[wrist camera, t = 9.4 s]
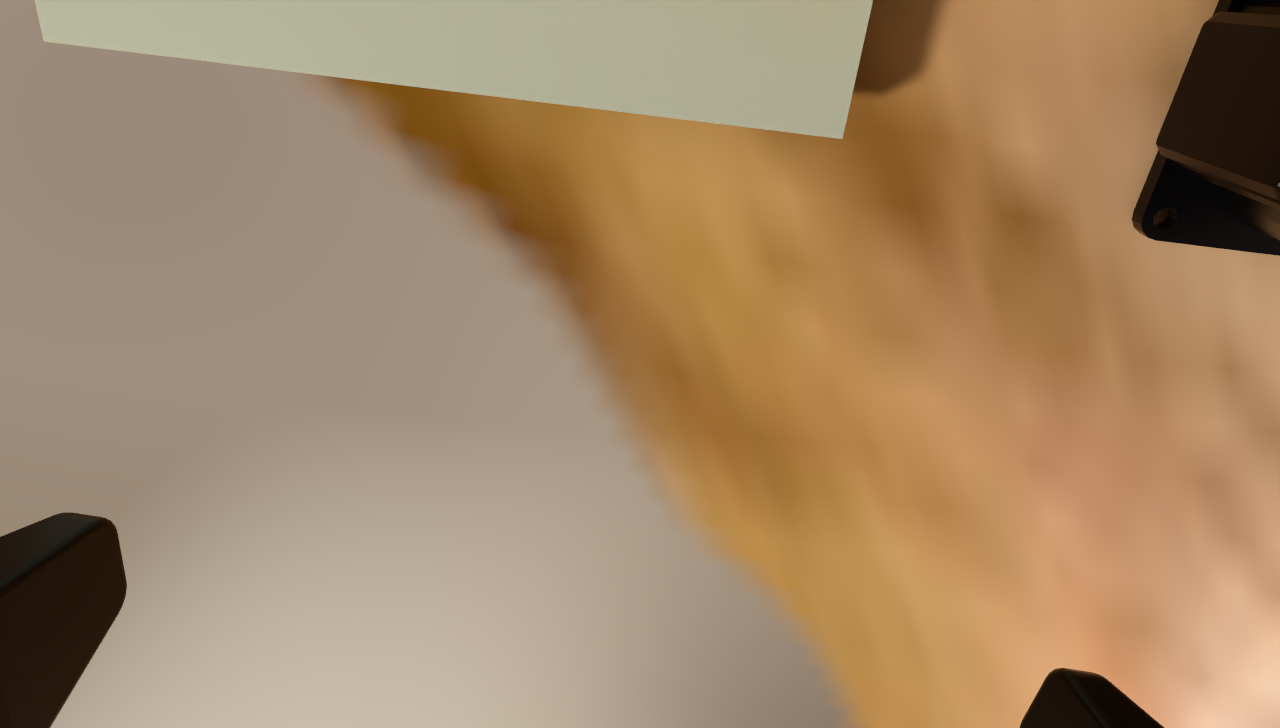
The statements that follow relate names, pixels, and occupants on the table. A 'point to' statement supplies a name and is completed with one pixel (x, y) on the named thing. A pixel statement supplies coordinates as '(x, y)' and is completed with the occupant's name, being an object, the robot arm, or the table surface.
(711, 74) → the lid
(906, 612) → the table surface
